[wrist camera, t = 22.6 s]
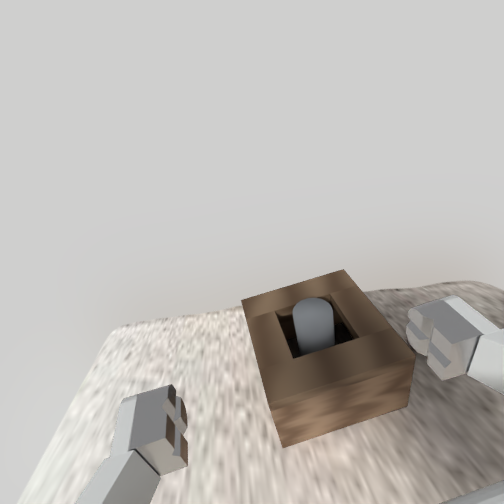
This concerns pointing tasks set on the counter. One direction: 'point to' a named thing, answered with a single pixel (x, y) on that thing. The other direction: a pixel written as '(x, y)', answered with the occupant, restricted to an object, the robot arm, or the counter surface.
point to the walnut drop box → (327, 360)
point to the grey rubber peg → (313, 325)
